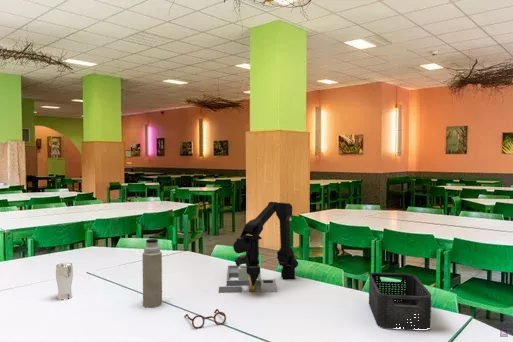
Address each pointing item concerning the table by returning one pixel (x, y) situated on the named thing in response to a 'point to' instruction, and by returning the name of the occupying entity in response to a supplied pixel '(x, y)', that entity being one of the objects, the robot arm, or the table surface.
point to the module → (243, 273)
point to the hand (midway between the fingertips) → (252, 282)
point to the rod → (251, 288)
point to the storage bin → (399, 302)
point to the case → (234, 272)
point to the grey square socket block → (268, 285)
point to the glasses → (207, 318)
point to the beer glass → (64, 280)
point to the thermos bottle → (152, 274)
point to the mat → (230, 289)
